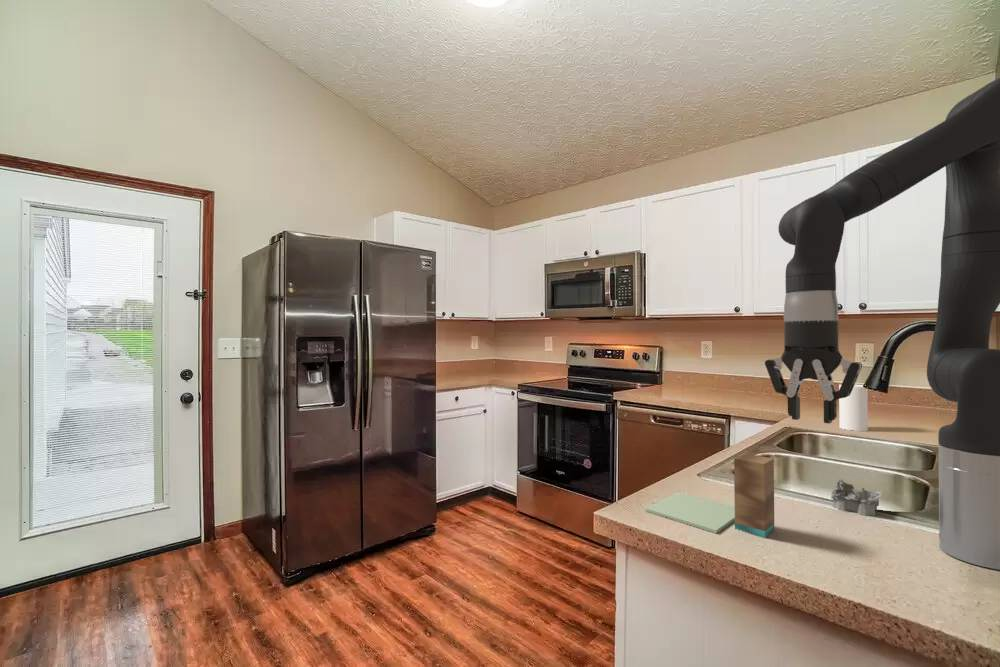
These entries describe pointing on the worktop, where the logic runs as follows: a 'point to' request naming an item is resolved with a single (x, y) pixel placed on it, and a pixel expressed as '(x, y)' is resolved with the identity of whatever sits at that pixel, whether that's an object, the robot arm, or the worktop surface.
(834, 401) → the robot arm
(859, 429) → the cup
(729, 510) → the sage mat
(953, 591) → the worktop surface
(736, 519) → the walnut block
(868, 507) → the grey miniature model
